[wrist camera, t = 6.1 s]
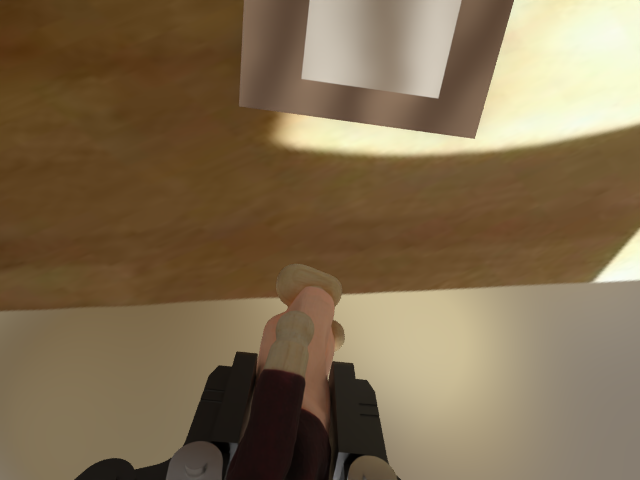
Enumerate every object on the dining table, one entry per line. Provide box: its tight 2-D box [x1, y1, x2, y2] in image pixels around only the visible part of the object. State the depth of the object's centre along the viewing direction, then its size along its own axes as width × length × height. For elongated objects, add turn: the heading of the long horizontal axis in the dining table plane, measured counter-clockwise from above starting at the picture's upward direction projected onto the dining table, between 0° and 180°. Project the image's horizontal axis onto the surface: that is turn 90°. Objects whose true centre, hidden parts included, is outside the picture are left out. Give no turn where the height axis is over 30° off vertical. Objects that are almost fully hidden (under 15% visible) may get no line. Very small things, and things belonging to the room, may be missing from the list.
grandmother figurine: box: [226, 264, 345, 480], centre depth 11 cm, size 8×4×13 cm, turn 13°
